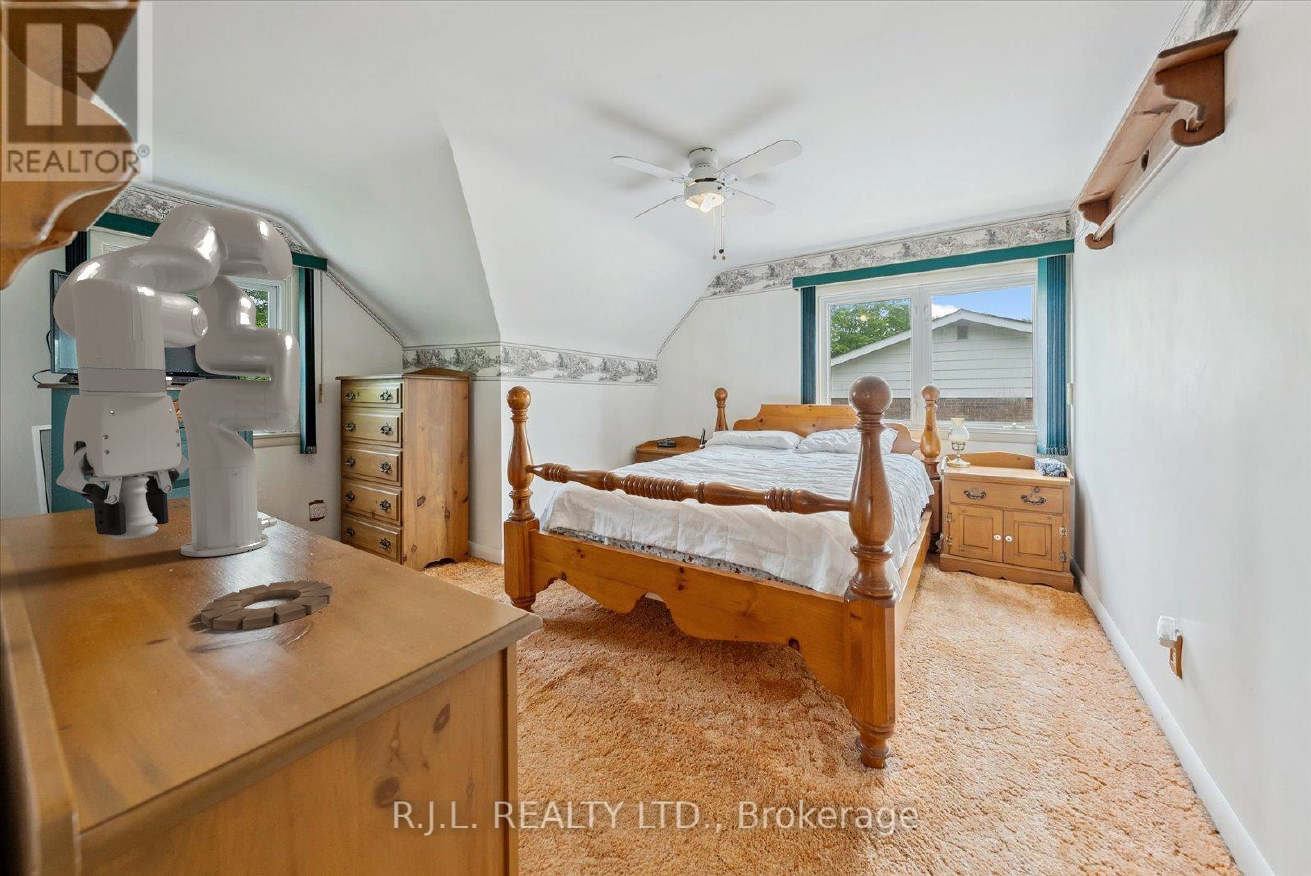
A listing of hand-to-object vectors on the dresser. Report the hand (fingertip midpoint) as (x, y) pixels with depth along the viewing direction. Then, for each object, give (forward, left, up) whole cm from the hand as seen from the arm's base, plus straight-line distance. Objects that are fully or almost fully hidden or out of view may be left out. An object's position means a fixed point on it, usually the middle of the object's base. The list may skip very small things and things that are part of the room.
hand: (134, 527), depth 64 cm
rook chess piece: (0, 0, -1) cm, 1 cm away
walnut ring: (-5, +13, -12) cm, 19 cm away
